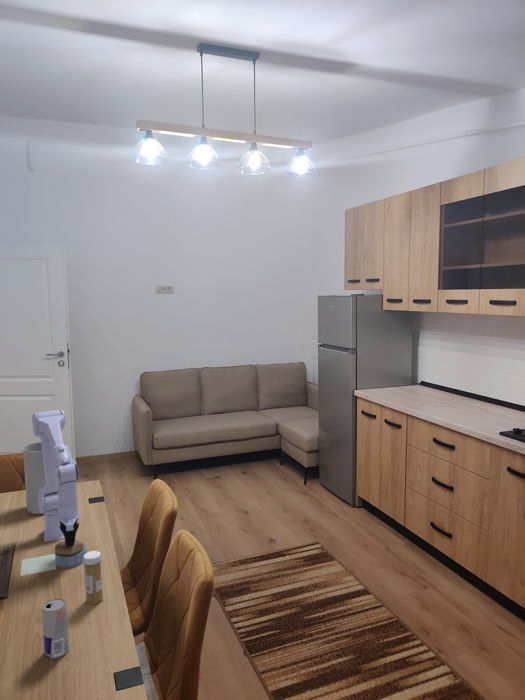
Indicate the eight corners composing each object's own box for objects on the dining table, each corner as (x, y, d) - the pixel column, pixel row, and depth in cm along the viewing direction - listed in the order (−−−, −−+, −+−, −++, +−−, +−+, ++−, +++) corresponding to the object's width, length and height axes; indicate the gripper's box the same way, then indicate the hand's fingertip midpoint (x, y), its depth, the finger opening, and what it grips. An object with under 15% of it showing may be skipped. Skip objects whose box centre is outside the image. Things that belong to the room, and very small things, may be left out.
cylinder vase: (38, 501, 213) (34, 441, 209) (67, 502, 211) (64, 442, 208) (20, 514, 200) (16, 450, 197) (50, 516, 199) (47, 452, 195)
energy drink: (48, 644, 127) (45, 598, 126) (71, 643, 128) (68, 597, 126) (41, 660, 122) (38, 612, 121) (65, 658, 122) (62, 610, 121)
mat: (22, 560, 166) (21, 559, 166) (55, 554, 170) (55, 553, 170) (20, 576, 157) (20, 575, 157) (56, 569, 161) (56, 568, 161)
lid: (54, 544, 168) (54, 531, 167) (82, 540, 171) (82, 528, 171) (55, 556, 160) (55, 543, 160) (84, 552, 163) (84, 539, 163)
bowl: (55, 556, 169) (54, 546, 168) (85, 550, 172) (85, 540, 172) (56, 570, 160) (55, 559, 160) (87, 564, 164) (87, 553, 163)
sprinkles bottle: (105, 601, 145) (102, 555, 143) (88, 607, 142) (85, 560, 140) (100, 593, 148) (98, 548, 147) (83, 598, 146) (81, 553, 144)
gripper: (53, 495, 169) (56, 535, 171) (54, 513, 156) (57, 556, 157) (77, 491, 172) (79, 531, 173) (79, 509, 158) (81, 551, 160)
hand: (70, 542), depth 166 cm, fingers closed on lid, 3 cm apart
